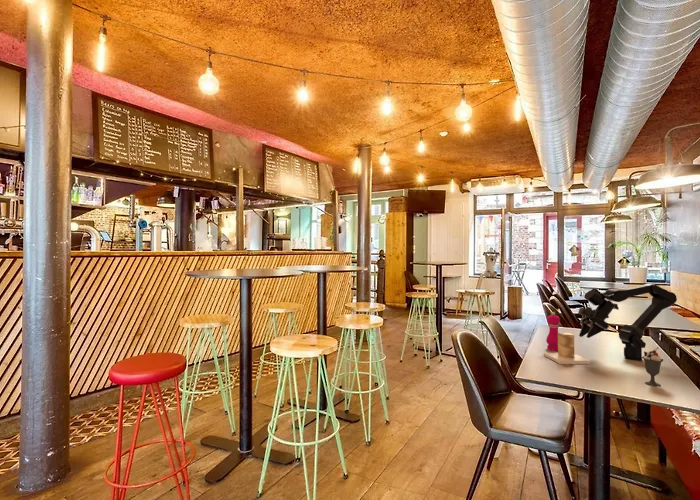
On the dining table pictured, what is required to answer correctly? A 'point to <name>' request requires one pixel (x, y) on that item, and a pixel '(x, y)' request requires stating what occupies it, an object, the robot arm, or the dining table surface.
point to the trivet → (567, 359)
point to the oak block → (566, 345)
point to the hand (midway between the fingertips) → (583, 337)
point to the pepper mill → (553, 332)
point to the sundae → (652, 366)
